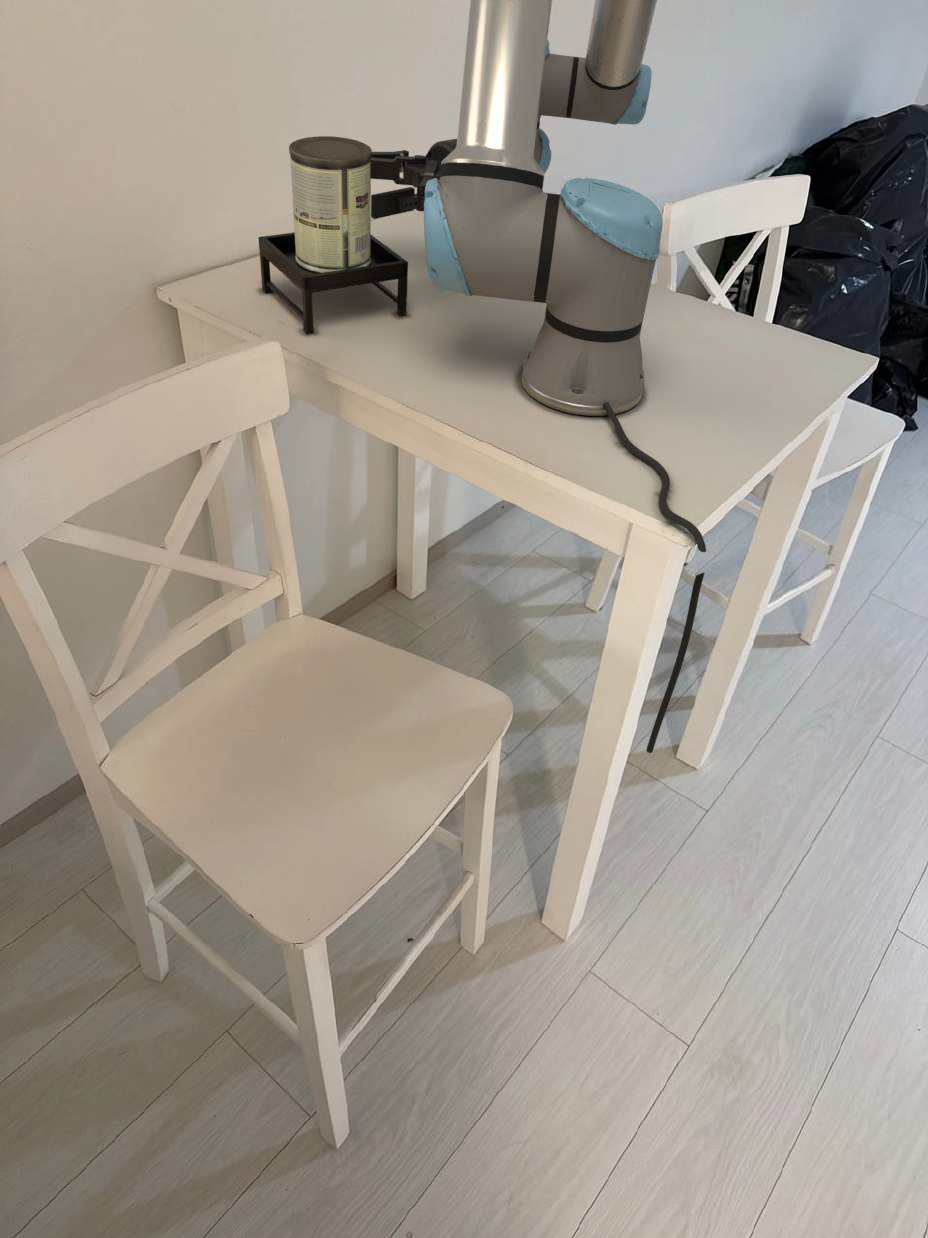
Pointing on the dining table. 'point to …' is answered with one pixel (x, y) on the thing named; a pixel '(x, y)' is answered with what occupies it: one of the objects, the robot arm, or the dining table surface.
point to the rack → (330, 274)
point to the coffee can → (331, 202)
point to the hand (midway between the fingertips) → (340, 191)
